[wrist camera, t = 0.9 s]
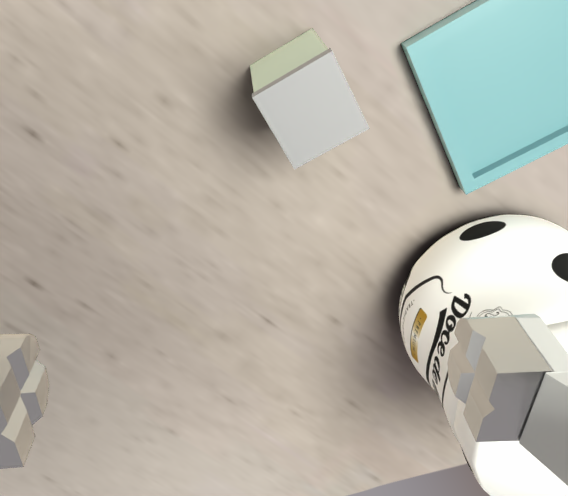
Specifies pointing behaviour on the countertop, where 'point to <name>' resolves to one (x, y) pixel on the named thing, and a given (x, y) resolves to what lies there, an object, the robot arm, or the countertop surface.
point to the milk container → (484, 303)
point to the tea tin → (306, 99)
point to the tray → (495, 84)
